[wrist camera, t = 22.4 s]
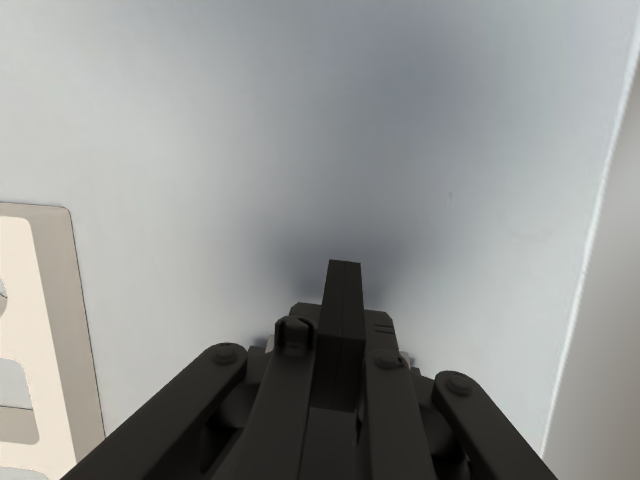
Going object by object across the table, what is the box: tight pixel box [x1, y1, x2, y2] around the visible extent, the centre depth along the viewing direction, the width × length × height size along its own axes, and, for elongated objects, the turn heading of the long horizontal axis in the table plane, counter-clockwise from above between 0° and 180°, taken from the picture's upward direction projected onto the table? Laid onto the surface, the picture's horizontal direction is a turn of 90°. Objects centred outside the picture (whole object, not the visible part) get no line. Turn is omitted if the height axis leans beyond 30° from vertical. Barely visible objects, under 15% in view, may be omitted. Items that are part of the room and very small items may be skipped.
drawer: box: [211, 335, 421, 480], centre depth 18 cm, size 18×10×9 cm, turn 175°
